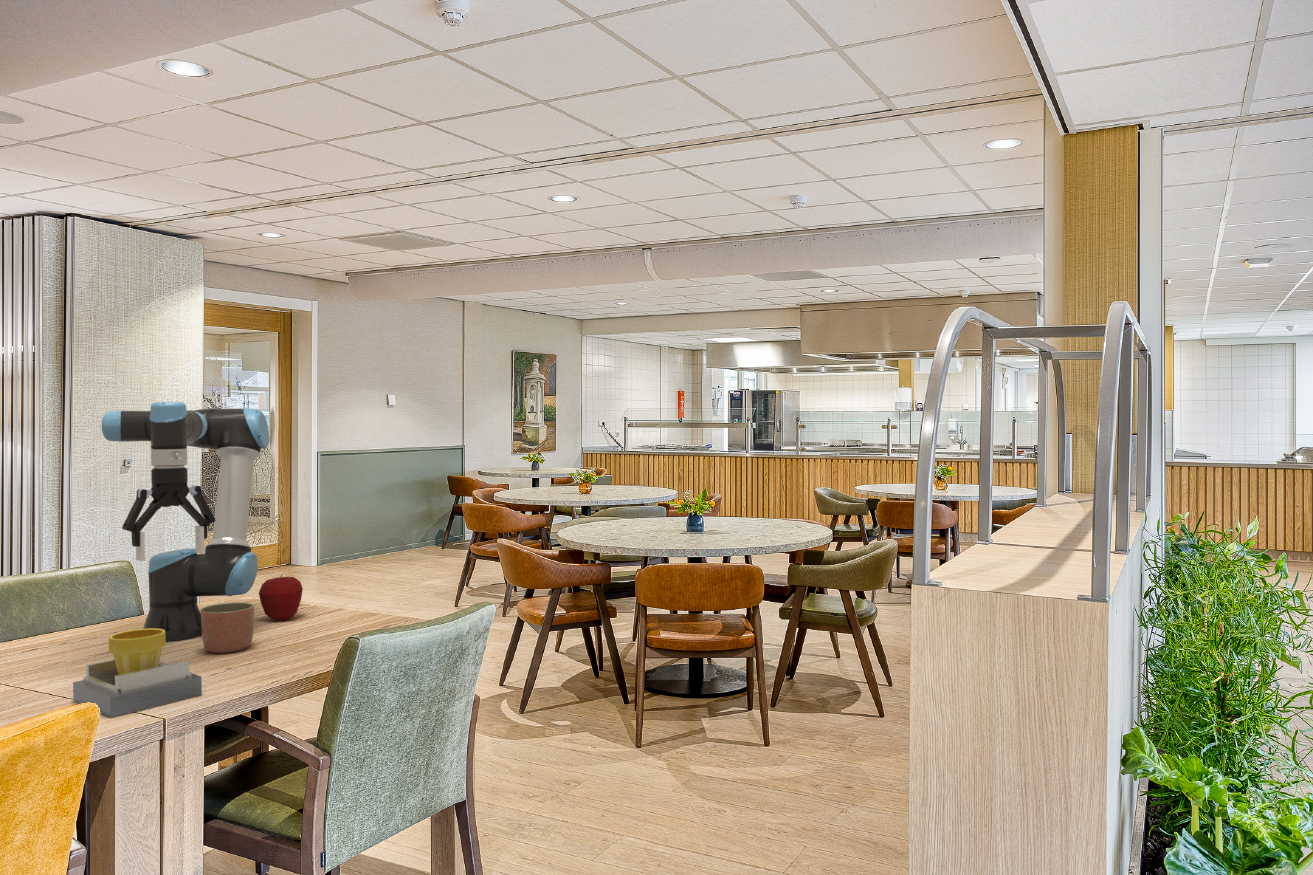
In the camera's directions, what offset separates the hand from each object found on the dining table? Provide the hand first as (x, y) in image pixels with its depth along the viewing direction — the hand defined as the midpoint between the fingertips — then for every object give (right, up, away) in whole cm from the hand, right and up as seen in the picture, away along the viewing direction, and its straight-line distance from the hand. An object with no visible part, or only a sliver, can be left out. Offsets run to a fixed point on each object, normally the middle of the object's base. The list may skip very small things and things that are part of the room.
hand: (171, 556), depth 212 cm
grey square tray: (+5, -27, -22) cm, 35 cm away
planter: (+5, -27, +18) cm, 33 cm away
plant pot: (+5, -23, -21) cm, 32 cm away
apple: (+4, -26, +53) cm, 59 cm away
